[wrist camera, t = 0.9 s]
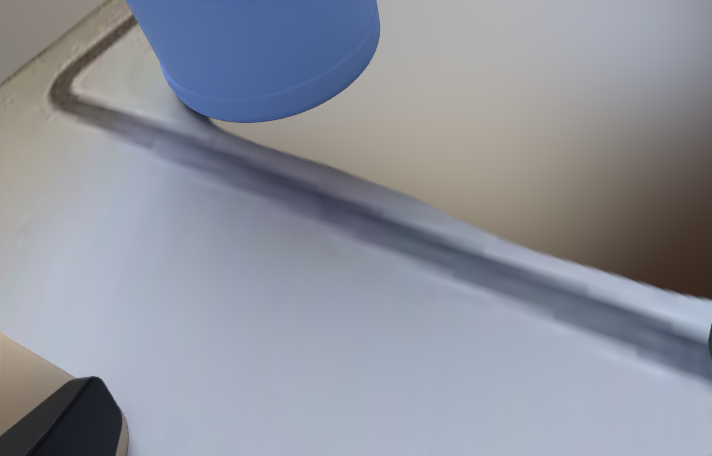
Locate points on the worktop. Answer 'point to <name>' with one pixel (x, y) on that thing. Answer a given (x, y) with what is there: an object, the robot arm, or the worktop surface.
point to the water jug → (259, 52)
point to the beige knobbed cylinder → (31, 385)
